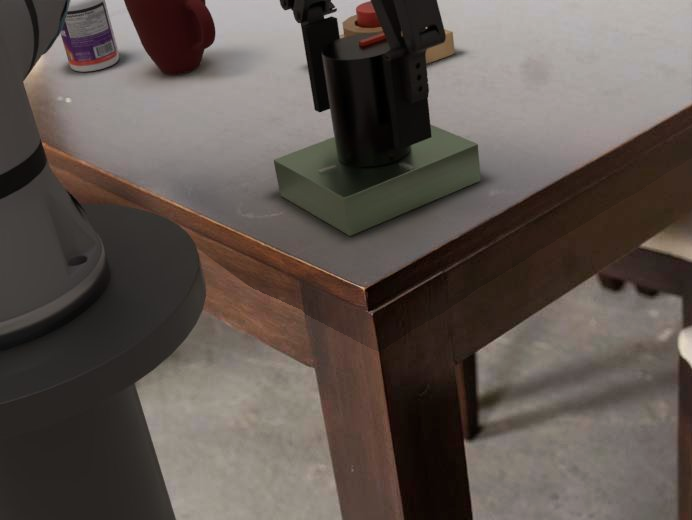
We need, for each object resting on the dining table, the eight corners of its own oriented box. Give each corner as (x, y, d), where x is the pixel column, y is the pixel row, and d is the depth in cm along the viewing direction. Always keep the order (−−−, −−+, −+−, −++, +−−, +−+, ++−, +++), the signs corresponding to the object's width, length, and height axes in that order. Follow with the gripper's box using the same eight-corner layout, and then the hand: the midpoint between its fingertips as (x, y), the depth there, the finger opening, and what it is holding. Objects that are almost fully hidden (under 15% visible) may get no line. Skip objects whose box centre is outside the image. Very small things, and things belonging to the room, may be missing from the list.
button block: (362, 87, 103) (356, 45, 101) (312, 67, 110) (305, 26, 108) (454, 54, 108) (451, 12, 106) (401, 36, 114) (397, -3, 112)
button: (373, 33, 105) (370, 15, 104) (350, 25, 108) (347, 7, 106) (407, 22, 106) (405, 3, 105) (383, 14, 109) (381, -4, 108)
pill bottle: (74, 59, 121) (48, -32, 116) (122, 52, 121) (99, -39, 116) (67, 75, 117) (39, -18, 111) (117, 68, 117) (92, -26, 112)
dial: (364, 173, 80) (348, 61, 75) (323, 153, 84) (306, 45, 79) (426, 149, 82) (414, 38, 78) (383, 130, 86) (370, 23, 82)
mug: (253, 61, 114) (234, -40, 108) (199, 89, 109) (176, -15, 103) (180, 51, 119) (159, -45, 114) (126, 77, 114) (100, -22, 108)
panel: (349, 236, 79) (343, 196, 77) (279, 195, 86) (272, 157, 84) (480, 180, 84) (478, 141, 82) (404, 146, 91) (400, 109, 89)
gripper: (486, -220, 63) (508, 146, 75) (285, -228, 79) (331, 75, 91) (378, -195, 60) (420, 183, 72) (192, -208, 76) (253, 102, 88)
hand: (370, 123), depth 82 cm, fingers open, 10 cm apart
